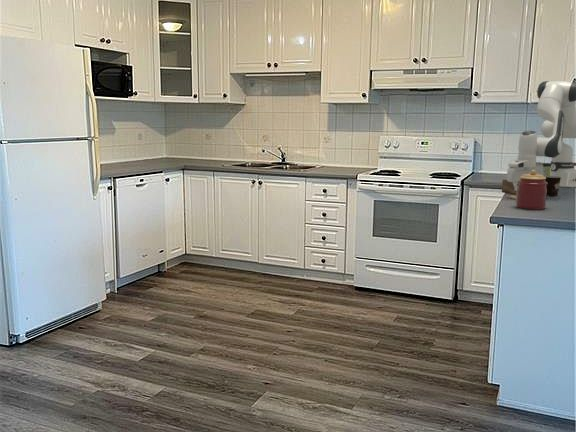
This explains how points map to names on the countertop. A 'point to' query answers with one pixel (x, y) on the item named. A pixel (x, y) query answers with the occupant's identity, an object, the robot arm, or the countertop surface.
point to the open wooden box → (508, 187)
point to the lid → (512, 196)
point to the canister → (531, 191)
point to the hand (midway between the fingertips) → (524, 190)
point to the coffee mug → (552, 185)
